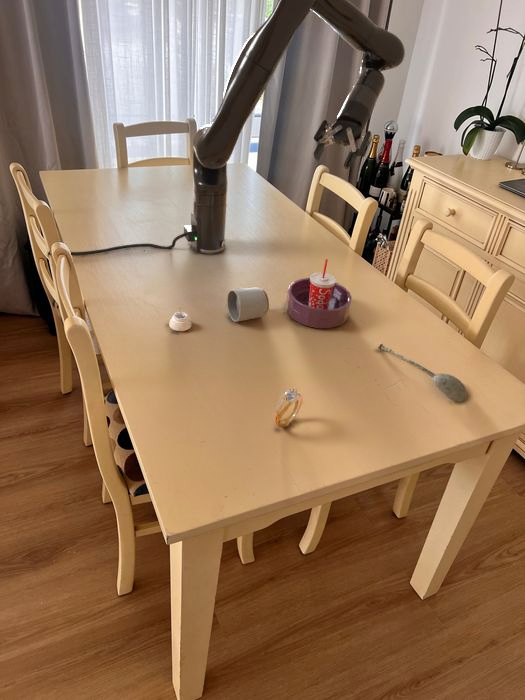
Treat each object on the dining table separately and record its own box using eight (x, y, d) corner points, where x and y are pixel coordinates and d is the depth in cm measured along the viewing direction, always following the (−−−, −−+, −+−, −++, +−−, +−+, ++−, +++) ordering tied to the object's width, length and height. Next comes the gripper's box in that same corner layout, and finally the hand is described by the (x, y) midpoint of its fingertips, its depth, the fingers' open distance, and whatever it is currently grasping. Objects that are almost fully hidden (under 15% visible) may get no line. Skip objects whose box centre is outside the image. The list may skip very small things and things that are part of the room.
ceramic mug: (269, 321, 123) (272, 293, 118) (238, 328, 119) (240, 299, 115) (249, 300, 130) (252, 272, 126) (220, 305, 127) (221, 277, 122)
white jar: (195, 326, 118) (180, 317, 121) (196, 315, 117) (180, 307, 119) (179, 335, 115) (164, 325, 118) (179, 324, 113) (164, 315, 116)
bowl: (302, 334, 120) (306, 314, 117) (275, 300, 131) (278, 281, 128) (358, 324, 126) (363, 305, 122) (328, 292, 137) (331, 274, 133)
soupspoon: (455, 409, 105) (470, 397, 109) (462, 397, 103) (476, 385, 107) (370, 353, 116) (386, 344, 120) (374, 341, 114) (391, 332, 118)
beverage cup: (303, 314, 126) (312, 263, 117) (306, 301, 131) (314, 251, 122) (328, 318, 125) (339, 267, 117) (330, 305, 130) (340, 256, 122)
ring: (292, 411, 99) (297, 380, 94) (304, 420, 97) (310, 389, 93) (266, 428, 95) (271, 396, 90) (279, 438, 93) (284, 406, 88)
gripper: (330, 93, 133) (303, 147, 132) (381, 105, 128) (353, 161, 126) (335, 112, 140) (309, 164, 139) (384, 124, 135) (357, 178, 133)
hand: (330, 163), depth 133 cm, fingers open, 8 cm apart
